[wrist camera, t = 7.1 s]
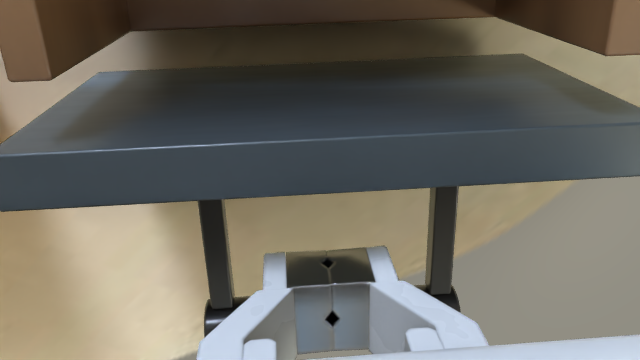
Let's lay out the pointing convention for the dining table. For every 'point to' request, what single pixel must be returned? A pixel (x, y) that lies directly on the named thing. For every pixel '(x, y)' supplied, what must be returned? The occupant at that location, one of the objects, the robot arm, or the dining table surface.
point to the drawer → (309, 116)
